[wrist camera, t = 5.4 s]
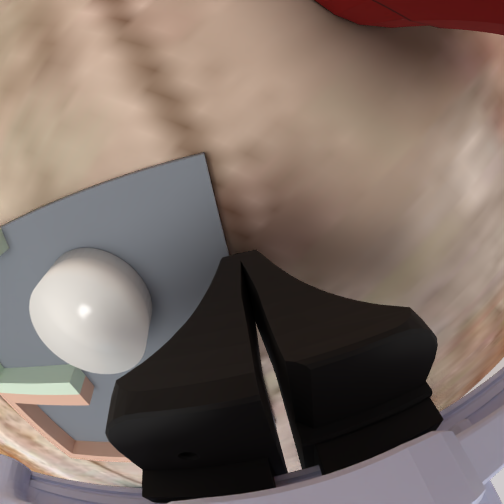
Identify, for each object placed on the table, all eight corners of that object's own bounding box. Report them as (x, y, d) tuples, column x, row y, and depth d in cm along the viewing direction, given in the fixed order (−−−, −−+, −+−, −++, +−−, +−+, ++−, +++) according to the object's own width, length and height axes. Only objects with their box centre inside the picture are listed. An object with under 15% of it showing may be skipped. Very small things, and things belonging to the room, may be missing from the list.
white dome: (163, 340, 12) (160, 373, 11) (72, 343, 12) (60, 372, 10) (137, 241, 10) (124, 267, 8) (33, 254, 9) (11, 279, 8)
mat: (275, 422, 18) (276, 429, 17) (62, 438, 17) (61, 443, 16) (204, 152, 10) (204, 153, 9) (-67, 266, 9) (-72, 270, 8)
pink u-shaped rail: (152, 446, 17) (151, 462, 16) (73, 445, 16) (70, 457, 15) (85, 375, 13) (79, 394, 12) (5, 378, 12) (-2, 392, 11)
